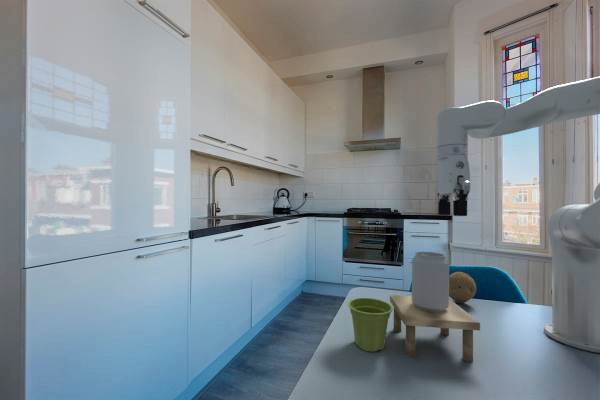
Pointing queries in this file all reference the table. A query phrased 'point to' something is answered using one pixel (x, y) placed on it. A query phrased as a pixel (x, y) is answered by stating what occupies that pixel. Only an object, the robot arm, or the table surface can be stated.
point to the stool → (433, 323)
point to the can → (430, 281)
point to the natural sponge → (461, 287)
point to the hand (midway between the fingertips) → (451, 215)
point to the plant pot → (370, 322)
